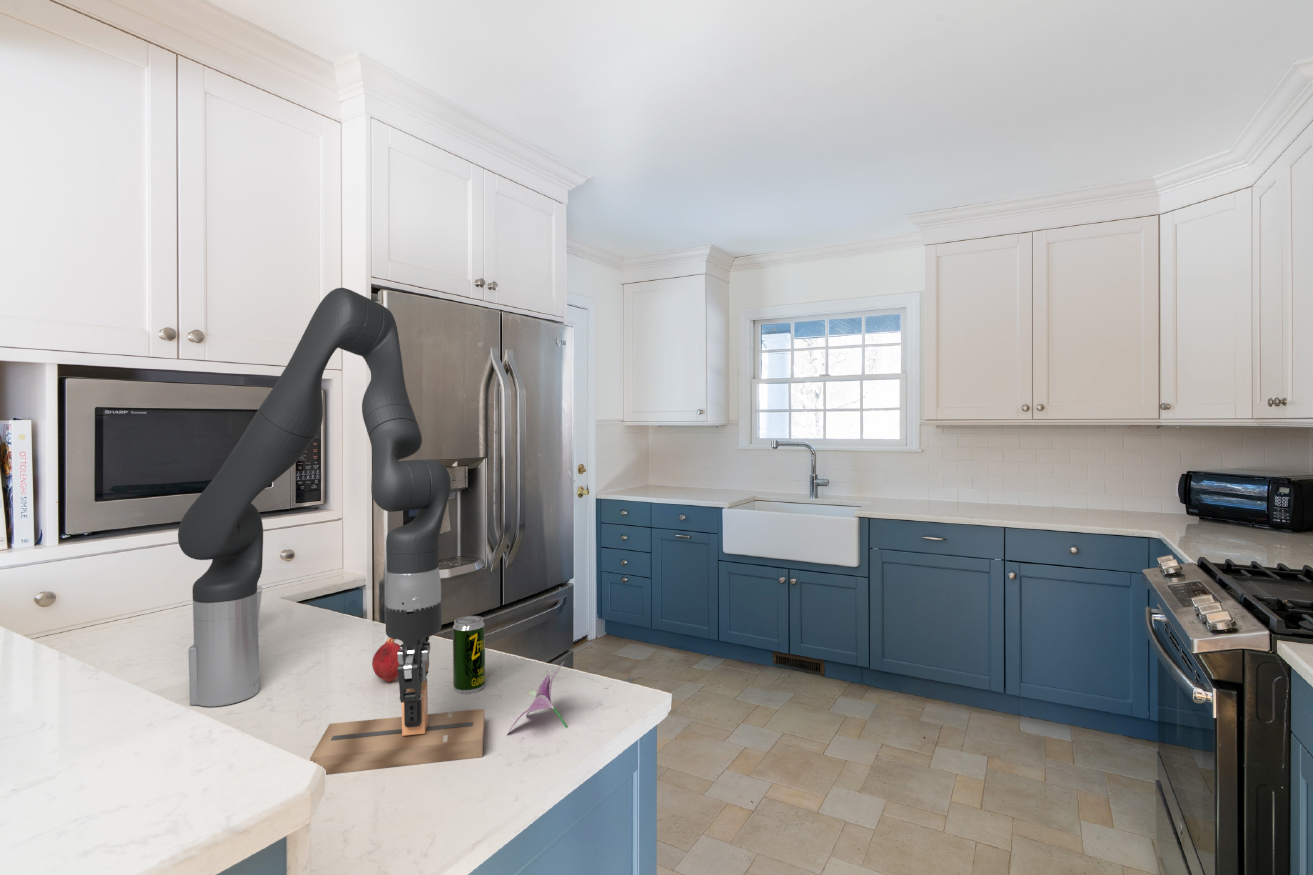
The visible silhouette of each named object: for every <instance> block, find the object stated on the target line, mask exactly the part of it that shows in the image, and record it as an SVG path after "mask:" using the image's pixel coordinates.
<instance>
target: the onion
mask: <svg viewBox="0 0 1313 875" xmlns="http://www.w3.org/2000/svg"><path fill="white" fill-rule="evenodd" d="M398 650H401V644H399V643H396V642H395V639H391V638H389V637H388V638H387V639H386V641H385V642H384V644H382V645H381V646H380V647H379V648H378V649H377V650H376V651H375V653H374V654H373V657H372V660H371V662H372V663H371V666H372V669H373V672H374V674H375V676H377V677H378V678H379V679H381V680H383V681H385V682H387V683H393V682H395V681H396V679H397V678H399V676H398V671H397V668H398V666H399V663H398Z"/></svg>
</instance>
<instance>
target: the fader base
mask: <svg viewBox="0 0 1313 875" xmlns="http://www.w3.org/2000/svg"><path fill="white" fill-rule="evenodd" d="M485 715H486V714H485V708H478V709H469V710H459V711H458V710H456V711H449V712H448V711H447V712H438V713H437V712H436V713H428V723H427V727H426V730H425V733H424V734H414V735H404V736H402V716H395V717H385V718H375V719H365V720H355V721H343V722H336V723H335V722H333V723H332V722H331V723H329V724H328V725H327V728H326V729H325V731H324V733H323V734H322V736H321V737H320V739H319V741H318V743H317V745H316V746H315V749H314V750H313V752H312V753H311V756H310V757H309V762H310V761H313V762H314V763H317V764H318V765H320V766H322V767H323V768H324V769H325V770H326V775H332V774H333V775H334V774H341V773H342V774H343V773H350V772H359V771H360V772H361V771H369V770H378V769H386V768H387V769H388V768H396V767H397V768H398V767H403V766H404V767H405V766H415V765H420V764H421V765H422V764H431V763H441V762H450V761H458V760H468V759H477V758H483V753H484V739H485V726H486V725H485V722H486V721H485V720H486V718H485Z"/></svg>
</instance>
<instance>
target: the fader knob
mask: <svg viewBox="0 0 1313 875" xmlns="http://www.w3.org/2000/svg"><path fill="white" fill-rule="evenodd" d="M414 691H415V689H407V692H414ZM422 693H423V697H422V699H421V706H422V722H421V725H420V726H418V727H405V724H404V702H403V703H401V717H402V736H404V735H414V734H424V733H425V730H426V727H427V723H428V714H429V708H428V707H429V705H428V701H429V700H428V698H429V697H428V680H427V681H424V682H422Z"/></svg>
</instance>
